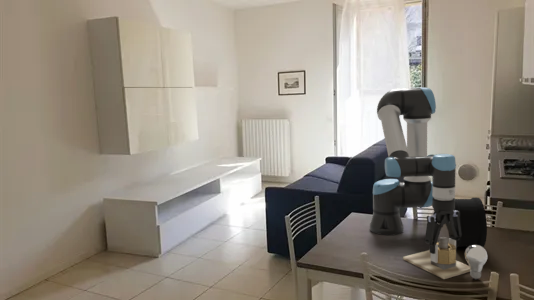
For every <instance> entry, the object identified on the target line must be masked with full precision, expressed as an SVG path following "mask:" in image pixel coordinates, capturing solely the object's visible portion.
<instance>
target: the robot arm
mask: <svg viewBox="0 0 534 300" xmlns="http://www.w3.org/2000/svg"><path fill="white" fill-rule="evenodd" d="M436 109H437V105H436V97H435V94H434V92H433V90H432V89H431V88H429V87H421V86H420V87H408V88H406V87H405V88H394V89H391V90H389V91H387V92H386V93H385V94H384V95H383V96H382V97H381V98H380V99H379V101H378V103H377V107H376V113H377V118H378V119H379V121H380V123H381V126H382V131H383V136H384V141H385V146H386V151H387V155H388V157H386V158H385V159H384V172H385V176H386V177H389V178H385V179H380V180H378V181H375V182H374V184H373V187H372V210H373V211H372V212H373V213H372V217H371V220H370V223H369V230H370V231H371V232H372V233H374V234H378V235H385V236H394V235H399V234H402V233H403V232H404V229H405V228H404V224H403V220H402V218H401V214H400V209H415V208H416V209H417V208H419V209H422V208H429V207H431V206H432V207H431V208H432V209H433V213H432V215H427V216H426V229H425V236H424V243H425V244H428V245H429V250H430V253H431V261H433V262H435V263H438V245H436V243H437V242H438V241H439V238H440V237H439V236H440V233H441V231H442V228H443V227H444V225H445V226H446V229H447V231H448V232H449V233H448V236H449V235H450V237H451V238H448V243H449V244H452V245H454V246H456V248H458V247H457V240H460V238H458V237H461V236H462V234H461V226H460V218H459V217H460V212H459V211H456V210H454V209H455V199H456V174H457V173H456V169H457V164H456V163H457V162H456V156H455V155H454V154H449V153H438V154H429V155H428V122H429V121H430V120H431V119H432V115H434V114H435V113H436ZM401 116H402V117H403V120H404V121H405V122H406V138H405V134H404V130H403V127H402V123H401V118H400V117H401ZM431 177H432V178H431ZM397 178H403V182H401V181H399V179H397ZM454 198H455V199H454ZM457 232H458V233H457Z"/></svg>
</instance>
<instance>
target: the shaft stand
mask: <svg viewBox="0 0 534 300" xmlns="http://www.w3.org/2000/svg"><path fill="white" fill-rule="evenodd" d="M438 242H439V248H442V249H448V243H449V238H448V237H445V236H440V237H438ZM402 260H404V261H406V262H408V263H409V264H412V265H414V266H416V267H418V268H420V269H422V270H424V271H426V272H428V273H430V274H431V275H434V276H437V277H439V278H441V279H442V280H446V279H449V278H452V277H456V276H457V277H458V276H460V275H463V274H466V273H470V268H469V264H468V265H467V264H466V263H463V262H461V261H459V260H456V262H455V263H452V264H439V263H435V262H433V261H431V253H430V249H428V250H425V251H421V252H420V251H419V252H416V253H413V254H409V255H404V256H402Z"/></svg>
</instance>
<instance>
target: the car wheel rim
mask: <svg viewBox="0 0 534 300" xmlns="http://www.w3.org/2000/svg"><path fill="white" fill-rule="evenodd" d="M454 199H455V209H454V210H456V211H459V212H460V217H459V218H460V226H461V234H462V236H461V237H458V238H460V240H457V247H456V248H458V247H466V248H467V247H469V246H470V245H480V246H482V247H483V248H485V245H486V242H487V236H488V223H487V222H488V221H487V215H486V209H485V206H484V203H483V201H482V199H481V198H480V197H472V198H456V197H455V198H454ZM457 233H458V232H457ZM448 236H449V238H451V237H450V235H449V232H448ZM449 238H448V239H449Z"/></svg>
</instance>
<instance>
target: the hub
mask: <svg viewBox="0 0 534 300" xmlns="http://www.w3.org/2000/svg"><path fill="white" fill-rule="evenodd" d="M436 245H438V263H439V264H452V263H455V262H456V261H457V247H456V246H454V245H452V244H449V242H448V249H442V248H439V241H437V243H436Z"/></svg>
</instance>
